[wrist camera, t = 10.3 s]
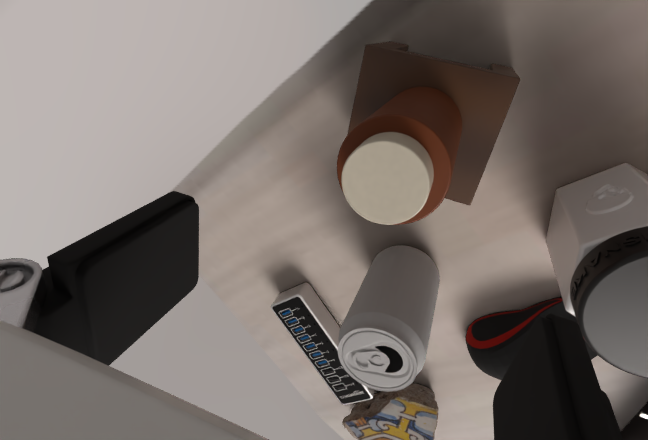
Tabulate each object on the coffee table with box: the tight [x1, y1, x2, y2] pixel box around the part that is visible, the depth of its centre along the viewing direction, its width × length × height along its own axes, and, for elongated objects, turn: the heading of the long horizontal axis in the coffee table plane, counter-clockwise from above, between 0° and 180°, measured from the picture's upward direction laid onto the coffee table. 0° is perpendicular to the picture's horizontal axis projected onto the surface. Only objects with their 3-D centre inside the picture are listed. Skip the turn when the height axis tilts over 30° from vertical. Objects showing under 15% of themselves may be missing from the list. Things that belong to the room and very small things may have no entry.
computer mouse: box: [466, 297, 597, 380], centre depth 34 cm, size 6×11×4 cm, turn 129°
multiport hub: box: [271, 283, 375, 405], centre depth 43 cm, size 4×14×2 cm, turn 36°
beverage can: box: [338, 245, 440, 392], centre depth 32 cm, size 6×6×12 cm
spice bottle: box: [337, 87, 462, 225], centre depth 20 cm, size 5×5×10 cm
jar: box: [546, 163, 648, 378], centre depth 24 cm, size 9×8×12 cm
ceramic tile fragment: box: [342, 383, 438, 440], centre depth 44 cm, size 12×3×10 cm
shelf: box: [347, 41, 520, 205], centre depth 28 cm, size 8×9×7 cm
